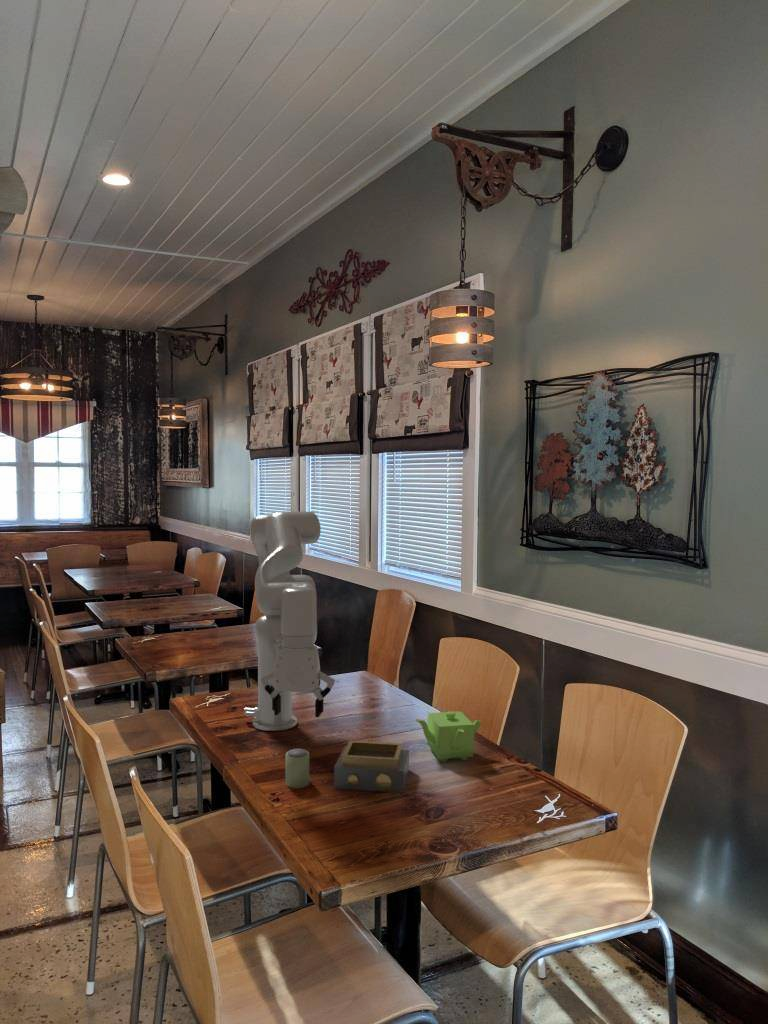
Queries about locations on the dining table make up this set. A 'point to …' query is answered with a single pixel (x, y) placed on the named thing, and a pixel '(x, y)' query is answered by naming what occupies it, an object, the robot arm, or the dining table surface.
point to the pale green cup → (297, 768)
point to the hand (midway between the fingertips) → (297, 714)
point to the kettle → (450, 734)
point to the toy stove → (372, 767)
